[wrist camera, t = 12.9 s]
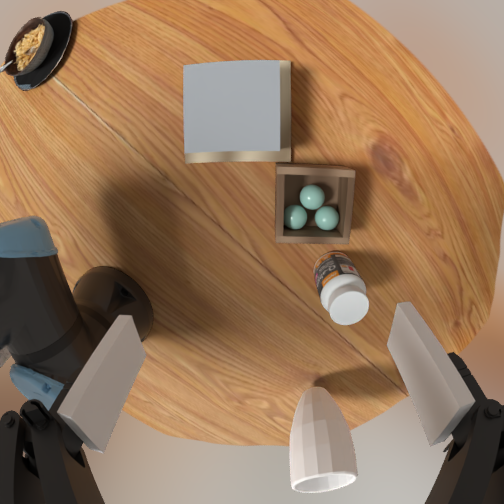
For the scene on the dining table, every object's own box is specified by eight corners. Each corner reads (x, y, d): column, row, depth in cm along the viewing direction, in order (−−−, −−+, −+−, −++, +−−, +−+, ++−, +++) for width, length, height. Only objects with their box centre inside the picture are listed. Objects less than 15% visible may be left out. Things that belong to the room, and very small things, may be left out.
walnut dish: (274, 229, 36) (275, 242, 32) (275, 162, 33) (277, 166, 28) (339, 230, 36) (348, 244, 31) (343, 165, 33) (355, 170, 28)
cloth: (186, 162, 34) (185, 163, 33) (185, 66, 28) (183, 65, 28) (290, 161, 33) (290, 161, 32) (289, 62, 28) (290, 60, 27)
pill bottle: (319, 246, 37) (335, 282, 28) (357, 254, 37) (381, 291, 28) (307, 282, 39) (317, 325, 30) (344, 289, 39) (361, 331, 30)
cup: (288, 364, 46) (293, 475, 26) (345, 363, 45) (370, 467, 26) (283, 398, 50) (284, 495, 30) (333, 397, 49) (348, 489, 30)
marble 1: (282, 223, 35) (281, 232, 33) (282, 201, 34) (282, 208, 31) (305, 224, 35) (307, 233, 32) (307, 202, 34) (308, 209, 31)
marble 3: (311, 225, 35) (316, 234, 32) (313, 202, 34) (318, 210, 31) (334, 225, 35) (340, 234, 32) (336, 203, 34) (343, 210, 31)
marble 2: (297, 190, 34) (298, 212, 33) (300, 179, 31) (301, 203, 30) (321, 190, 34) (322, 213, 33) (326, 180, 31) (327, 204, 30)
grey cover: (196, 151, 32) (184, 153, 28) (195, 74, 28) (183, 65, 24) (278, 149, 32) (280, 151, 27) (277, 71, 28) (279, 60, 23)
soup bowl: (69, 77, 29) (38, 72, 22) (11, 101, 29) (-17, 102, 22) (82, 0, 23) (57, -12, 16) (21, 32, 23) (-4, 27, 16)
